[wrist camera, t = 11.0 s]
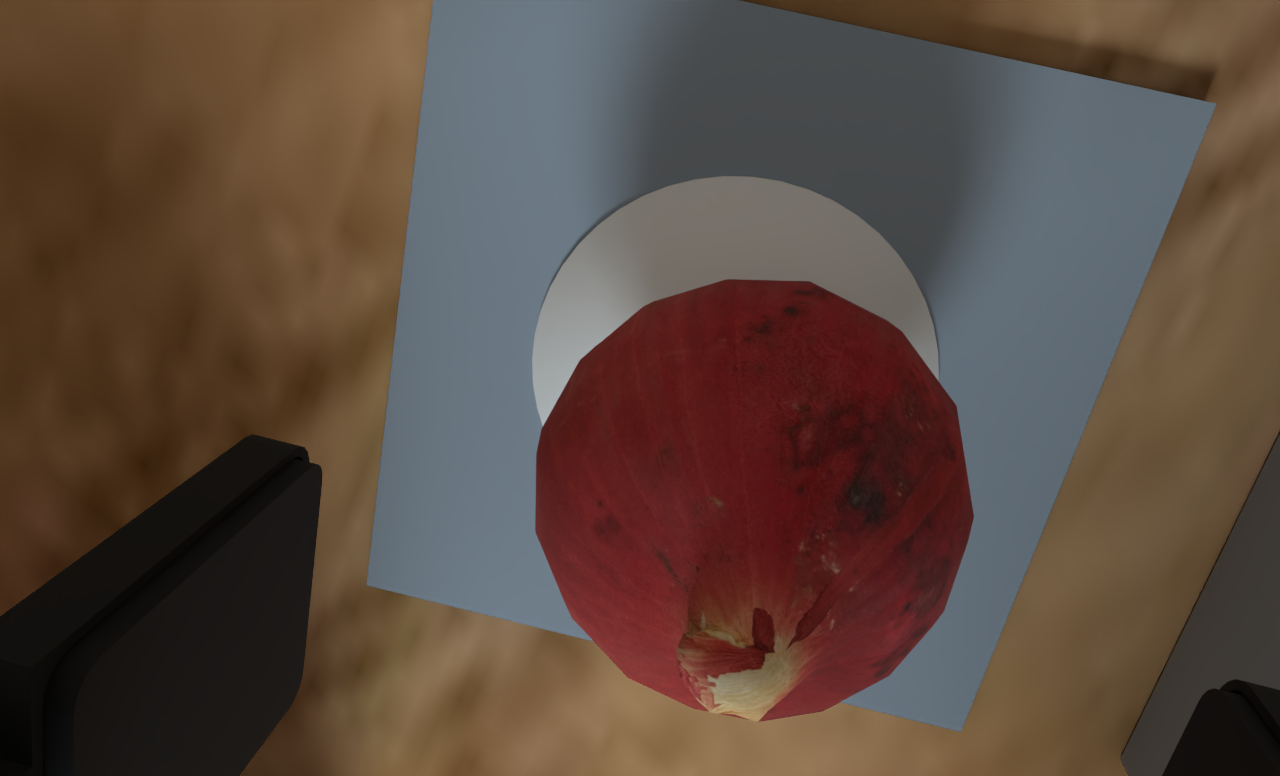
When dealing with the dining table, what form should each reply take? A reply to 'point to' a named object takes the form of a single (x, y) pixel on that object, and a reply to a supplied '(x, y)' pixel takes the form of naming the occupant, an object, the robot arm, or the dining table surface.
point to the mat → (755, 261)
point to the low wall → (1221, 629)
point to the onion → (754, 497)
